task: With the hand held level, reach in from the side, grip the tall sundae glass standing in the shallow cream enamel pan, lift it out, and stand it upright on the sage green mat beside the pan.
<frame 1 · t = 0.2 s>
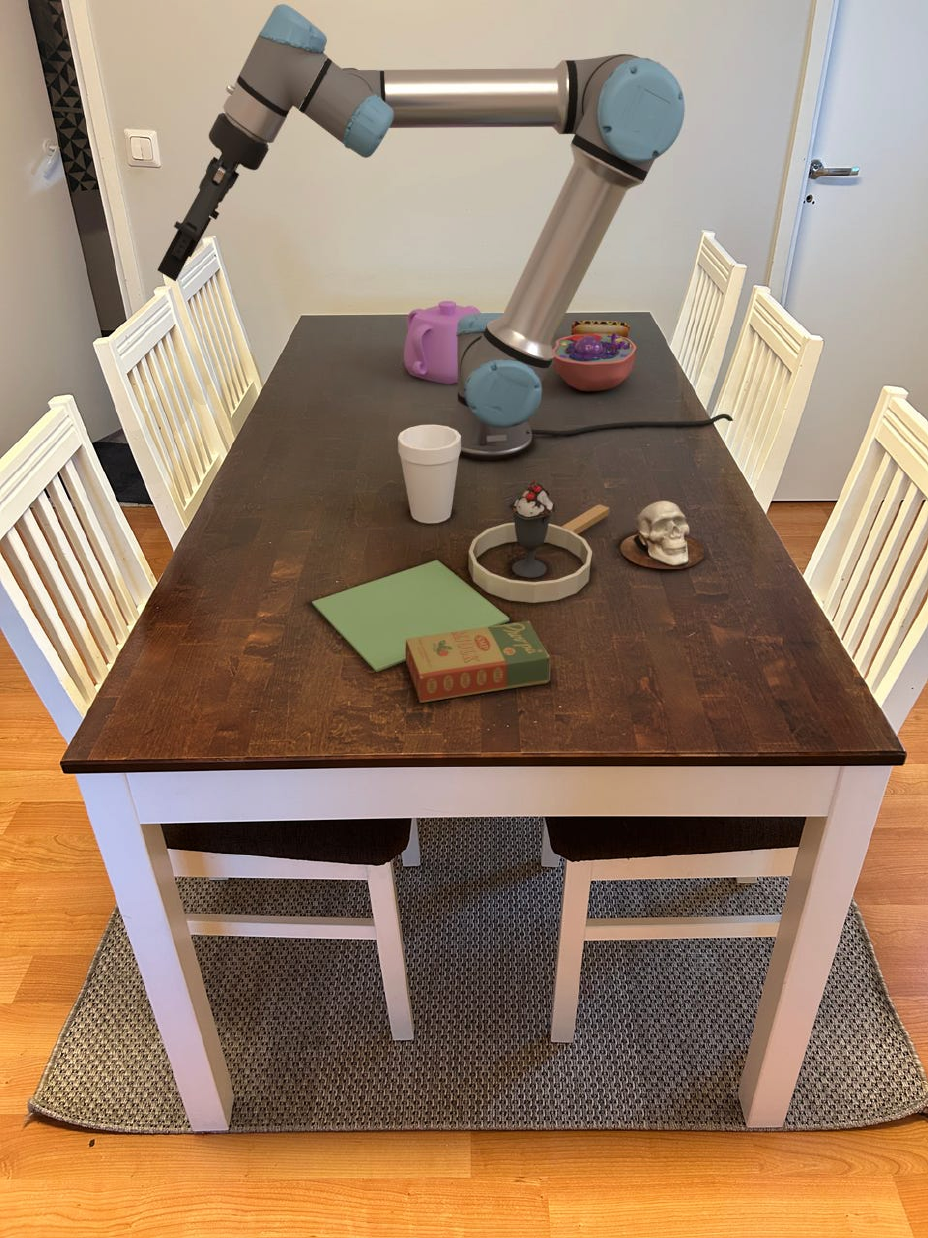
hand: (174, 262, 134), 36 cm above the table, tool tilted 35°, fingers open, 13 cm apart
sundae: (529, 570, 133), resting in pan
skull: (661, 553, 137), on the table
teapot: (454, 372, 200), on the table
carton: (477, 675, 113), on the table
foam cup: (431, 514, 147), on the table
pan: (529, 569, 133), on the table
mat: (409, 612, 124), on the table
cell model: (591, 387, 193), on the table
hot dog: (599, 344, 215), on the table
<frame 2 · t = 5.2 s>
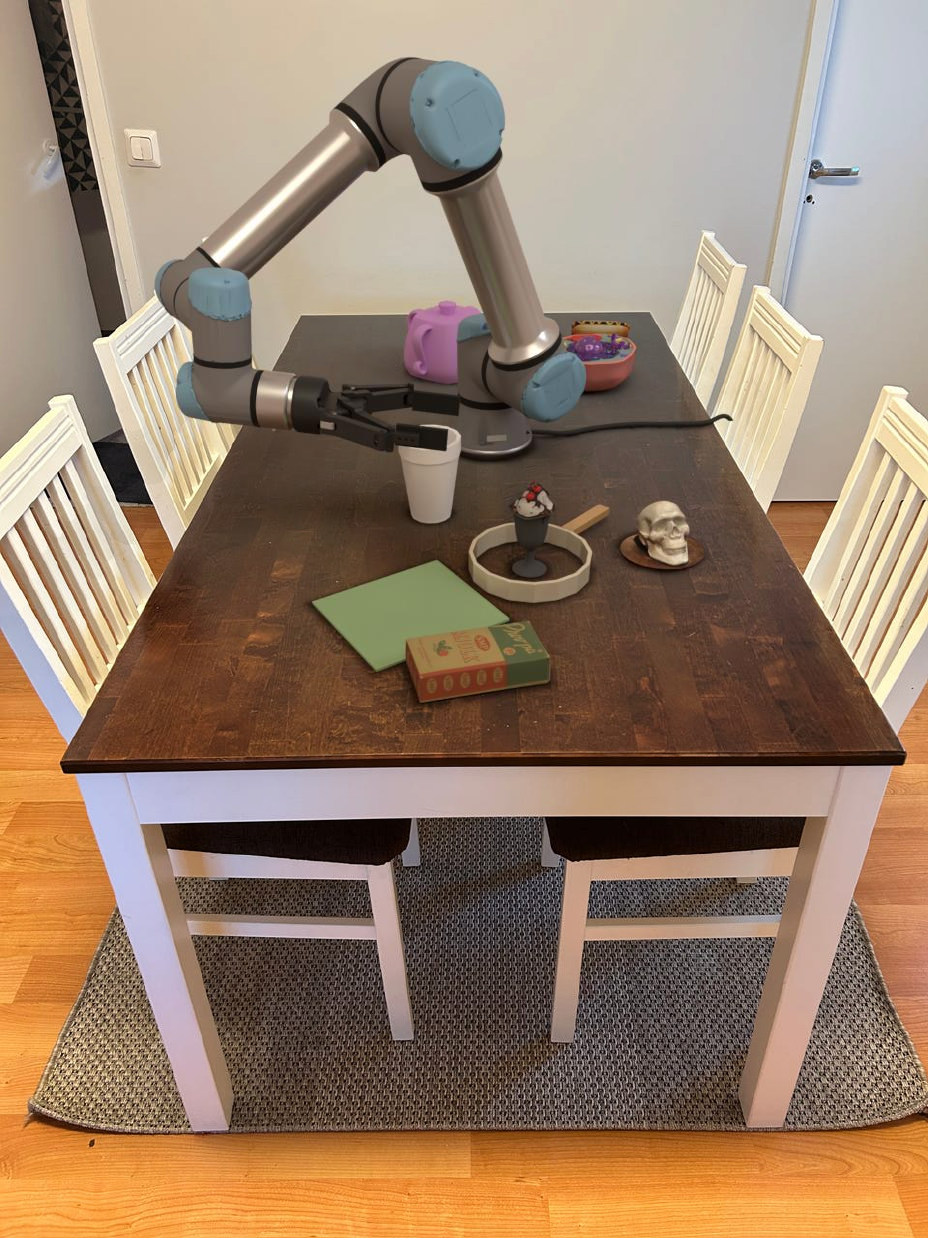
hand: (453, 422, 123), 21 cm above the table, tool horizontal, fingers open, 13 cm apart
nothing on the table moved.
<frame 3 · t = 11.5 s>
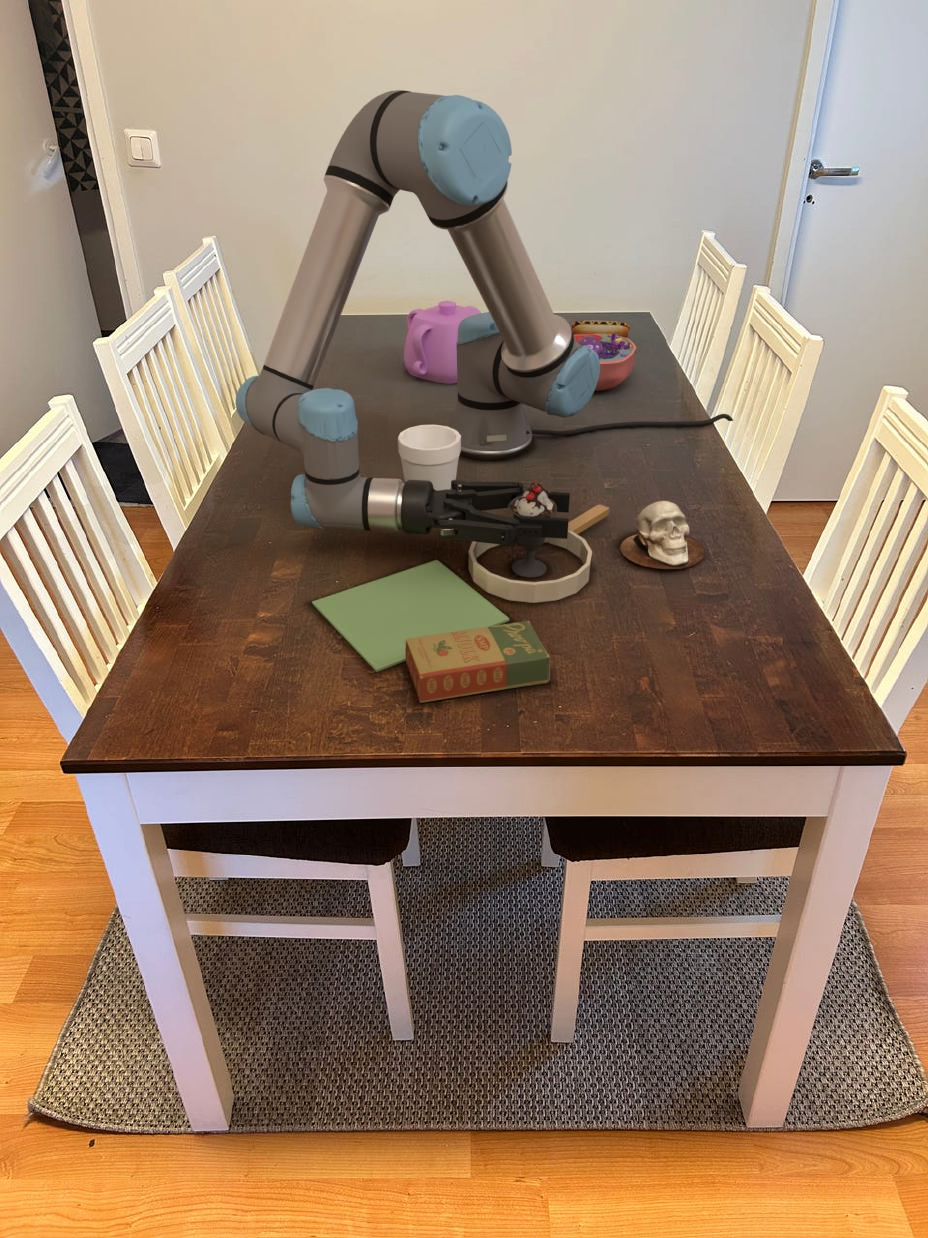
hand: (568, 515, 128), 9 cm above the table, tool horizontal, fingers closed on sundae, 7 cm apart
sundae: (529, 570, 133), resting in pan, touching gripper
everything else where it was.
when the fingers open (9 cm above the table, at t = 19.8 s): sundae stays where it is, resting on mat.
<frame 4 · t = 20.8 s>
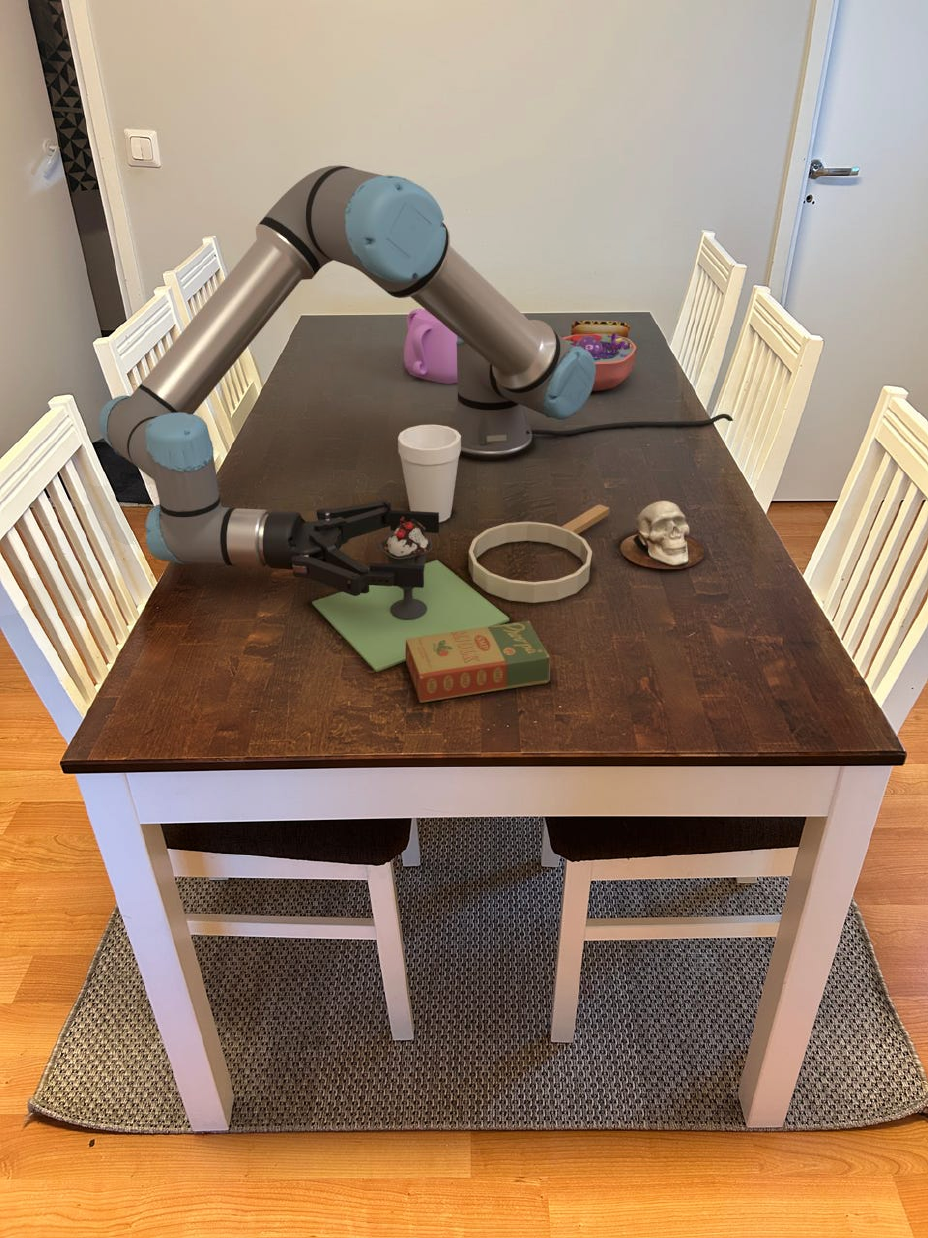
hand: (431, 548, 118), 10 cm above the table, tool horizontal, fingers open, 13 cm apart
sundae: (408, 611, 124), resting on mat
everything else where it was.
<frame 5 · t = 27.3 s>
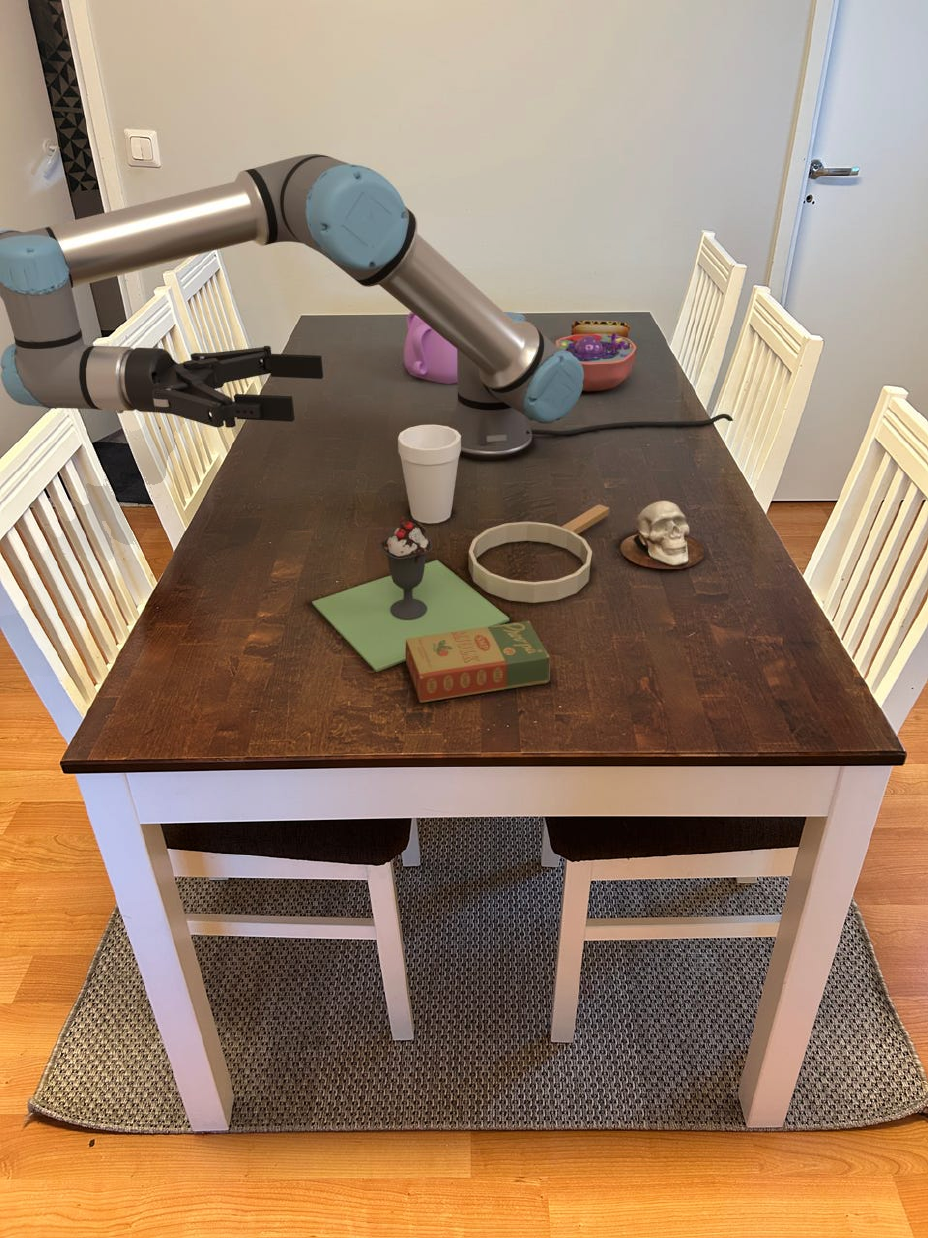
hand: (308, 387, 110), 30 cm above the table, tool horizontal, fingers open, 13 cm apart
nothing on the table moved.
at the end: sundae inside the target area on the mat (0.1 cm from its centre), point 0.2 cm above the mat's base; sundae tilted 0°; sundae touching mat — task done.
